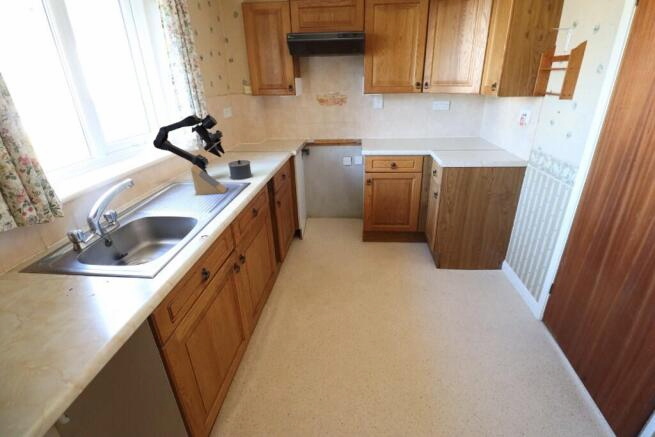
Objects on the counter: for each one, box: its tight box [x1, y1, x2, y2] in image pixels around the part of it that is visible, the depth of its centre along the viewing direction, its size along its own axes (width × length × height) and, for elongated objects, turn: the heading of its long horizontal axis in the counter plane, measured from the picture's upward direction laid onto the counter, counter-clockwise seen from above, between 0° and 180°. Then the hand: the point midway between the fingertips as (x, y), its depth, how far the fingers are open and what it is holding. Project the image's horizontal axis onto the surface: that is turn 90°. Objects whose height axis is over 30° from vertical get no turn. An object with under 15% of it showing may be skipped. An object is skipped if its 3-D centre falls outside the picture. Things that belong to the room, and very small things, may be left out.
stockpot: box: [227, 159, 253, 180], centre depth 204 cm, size 14×14×11 cm
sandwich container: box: [190, 165, 228, 196], centre depth 177 cm, size 9×15×15 cm, turn 94°
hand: (222, 155), depth 197 cm, fingers open, 9 cm apart
